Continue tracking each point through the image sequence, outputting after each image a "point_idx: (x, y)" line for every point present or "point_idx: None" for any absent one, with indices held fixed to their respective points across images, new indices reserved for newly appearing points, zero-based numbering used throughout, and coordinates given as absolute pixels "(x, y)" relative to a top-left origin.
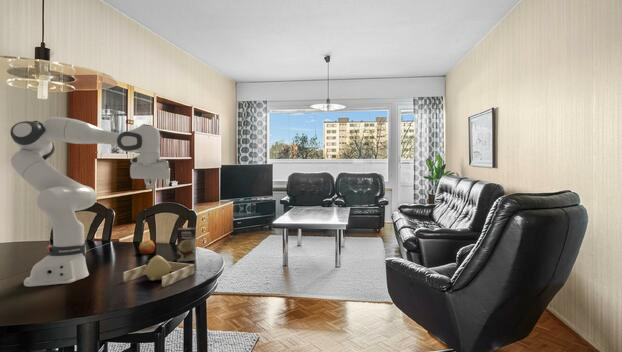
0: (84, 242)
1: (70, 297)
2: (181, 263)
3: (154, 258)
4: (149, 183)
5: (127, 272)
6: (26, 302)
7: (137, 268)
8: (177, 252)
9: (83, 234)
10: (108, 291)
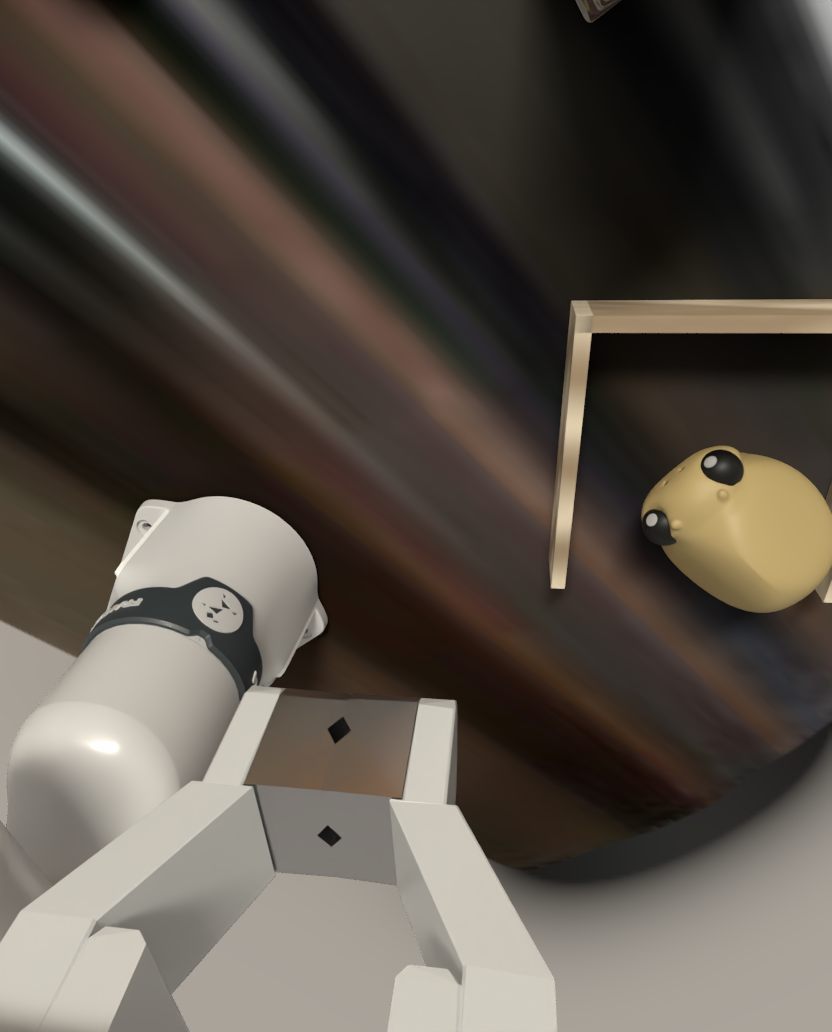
0: (184, 633)
1: (490, 727)
2: (819, 326)
3: (760, 604)
4: (205, 832)
5: (565, 574)
6: None
7: (572, 512)
8: (603, 8)
9: (193, 706)
10: (580, 660)
